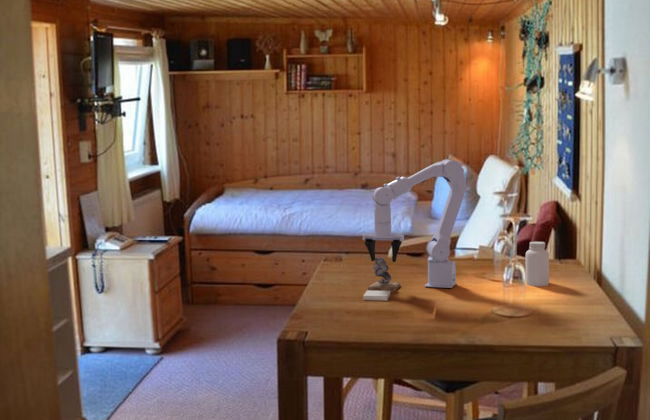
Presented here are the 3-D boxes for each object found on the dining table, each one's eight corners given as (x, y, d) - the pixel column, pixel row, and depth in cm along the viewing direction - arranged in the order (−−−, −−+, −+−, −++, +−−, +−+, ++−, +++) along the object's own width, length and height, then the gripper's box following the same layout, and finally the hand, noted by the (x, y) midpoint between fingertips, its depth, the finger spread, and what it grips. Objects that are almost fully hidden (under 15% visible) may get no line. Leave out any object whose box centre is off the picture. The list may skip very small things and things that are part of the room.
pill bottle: (546, 282, 281) (546, 240, 280) (550, 287, 274) (551, 244, 272) (523, 282, 282) (523, 240, 281) (527, 287, 274) (527, 244, 273)
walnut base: (400, 288, 279) (400, 282, 278) (392, 294, 270) (392, 287, 270) (376, 287, 282) (376, 281, 282) (367, 292, 274) (367, 286, 274)
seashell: (385, 284, 272) (379, 255, 273) (374, 286, 276) (368, 258, 277) (395, 282, 276) (389, 254, 277) (384, 284, 280) (378, 256, 280)
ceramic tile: (390, 295, 269) (390, 290, 269) (387, 300, 261) (387, 296, 261) (367, 294, 270) (367, 290, 270) (363, 300, 263) (363, 295, 262)
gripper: (406, 221, 274) (407, 259, 276) (366, 220, 280) (367, 258, 281) (400, 223, 268) (401, 263, 269) (360, 222, 273) (361, 261, 275)
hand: (383, 261), depth 275 cm, fingers open, 7 cm apart
